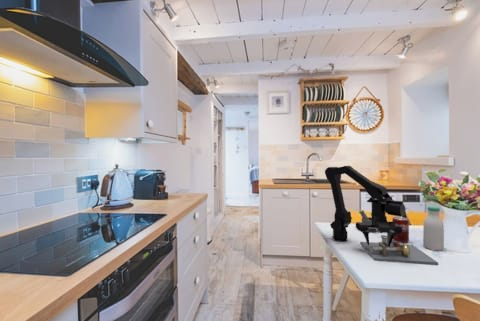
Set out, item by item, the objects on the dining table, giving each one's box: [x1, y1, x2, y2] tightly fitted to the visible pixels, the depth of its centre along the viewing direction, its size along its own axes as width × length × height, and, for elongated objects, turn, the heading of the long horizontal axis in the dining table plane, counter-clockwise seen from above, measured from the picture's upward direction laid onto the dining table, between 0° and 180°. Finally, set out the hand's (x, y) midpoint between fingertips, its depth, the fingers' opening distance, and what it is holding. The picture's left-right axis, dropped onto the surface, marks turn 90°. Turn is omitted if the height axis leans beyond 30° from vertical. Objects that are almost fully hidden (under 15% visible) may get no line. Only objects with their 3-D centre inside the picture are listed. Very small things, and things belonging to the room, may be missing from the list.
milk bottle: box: [422, 205, 445, 252], centre depth 115 cm, size 8×8×20 cm
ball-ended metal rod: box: [380, 234, 401, 247], centre depth 113 cm, size 12×4×4 cm, turn 179°
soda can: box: [391, 216, 410, 244], centre depth 125 cm, size 7×7×12 cm
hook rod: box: [370, 245, 410, 256], centre depth 105 cm, size 15×4×4 cm, turn 79°
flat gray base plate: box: [359, 241, 439, 266], centre depth 109 cm, size 24×20×1 cm
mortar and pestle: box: [359, 210, 378, 233], centre depth 142 cm, size 11×9×12 cm
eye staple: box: [378, 241, 386, 257], centre depth 106 cm, size 1×5×6 cm, turn 168°
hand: (378, 245), depth 112 cm, fingers open, 8 cm apart
